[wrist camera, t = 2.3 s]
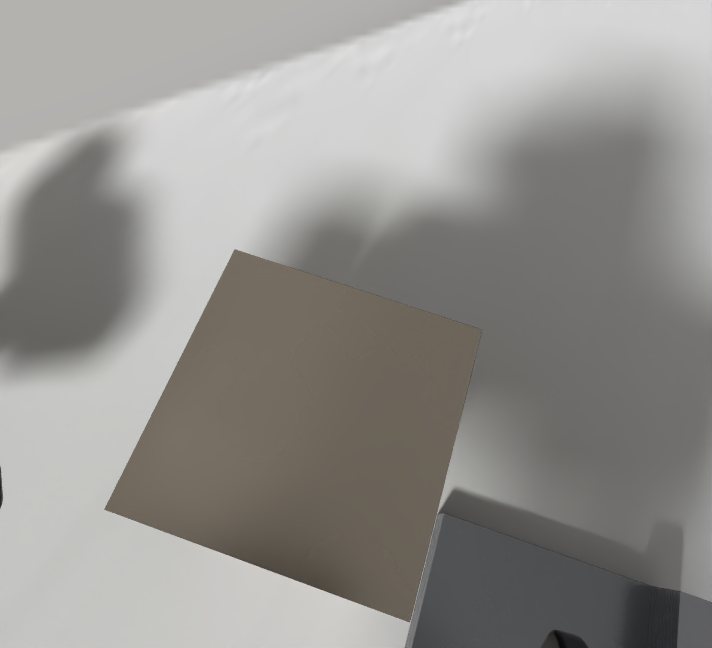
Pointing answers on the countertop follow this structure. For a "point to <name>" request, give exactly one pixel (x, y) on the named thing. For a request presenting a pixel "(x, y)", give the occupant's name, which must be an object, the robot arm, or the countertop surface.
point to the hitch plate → (540, 598)
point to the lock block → (306, 433)
